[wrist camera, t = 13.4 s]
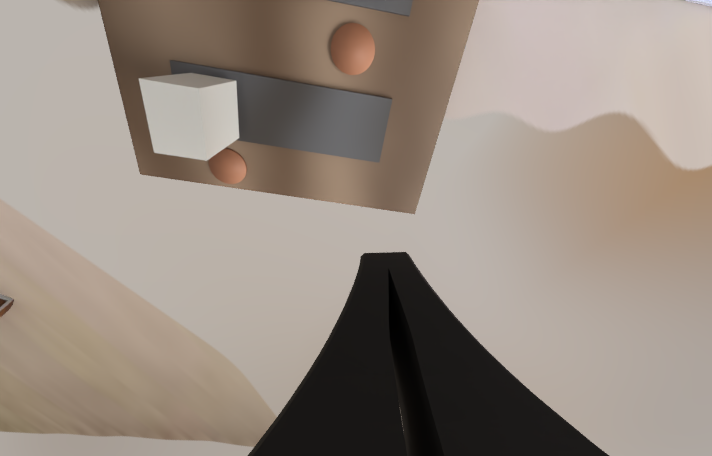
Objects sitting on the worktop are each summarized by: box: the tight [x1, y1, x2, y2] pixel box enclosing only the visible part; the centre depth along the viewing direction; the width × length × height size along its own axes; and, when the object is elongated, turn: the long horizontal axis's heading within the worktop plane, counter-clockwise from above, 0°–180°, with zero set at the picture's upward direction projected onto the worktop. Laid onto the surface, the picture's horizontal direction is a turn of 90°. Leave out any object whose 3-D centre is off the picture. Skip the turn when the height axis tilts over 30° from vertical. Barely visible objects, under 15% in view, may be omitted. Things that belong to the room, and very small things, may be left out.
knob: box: [139, 73, 239, 161], centre depth 12 cm, size 2×3×4 cm
